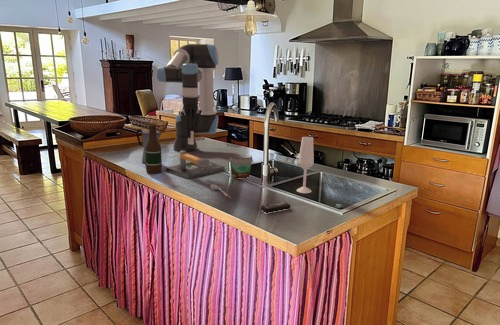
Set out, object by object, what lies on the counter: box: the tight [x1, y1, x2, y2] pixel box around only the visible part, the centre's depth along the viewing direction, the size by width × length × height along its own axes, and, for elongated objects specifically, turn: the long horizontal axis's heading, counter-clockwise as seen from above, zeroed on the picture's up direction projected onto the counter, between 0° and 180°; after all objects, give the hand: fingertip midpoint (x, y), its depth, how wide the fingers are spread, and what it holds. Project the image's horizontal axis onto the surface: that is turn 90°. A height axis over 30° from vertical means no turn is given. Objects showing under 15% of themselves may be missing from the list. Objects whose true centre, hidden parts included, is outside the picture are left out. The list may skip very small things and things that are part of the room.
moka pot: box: [135, 128, 162, 164], centre depth 203 cm, size 10×15×20 cm, turn 79°
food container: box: [228, 155, 254, 179], centre depth 181 cm, size 12×6×10 cm, turn 117°
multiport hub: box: [260, 201, 291, 213], centre depth 143 cm, size 4×11×2 cm, turn 118°
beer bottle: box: [145, 123, 163, 175], centre depth 185 cm, size 8×8×24 cm
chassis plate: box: [165, 161, 226, 180], centre depth 192 cm, size 24×18×2 cm
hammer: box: [179, 151, 210, 170], centre depth 178 cm, size 20×5×9 cm, turn 42°
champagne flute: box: [296, 136, 315, 194], centre depth 163 cm, size 7×7×24 cm
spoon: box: [210, 183, 229, 197], centre depth 159 cm, size 4×21×2 cm, turn 32°
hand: (190, 144), depth 186 cm, fingers closed
